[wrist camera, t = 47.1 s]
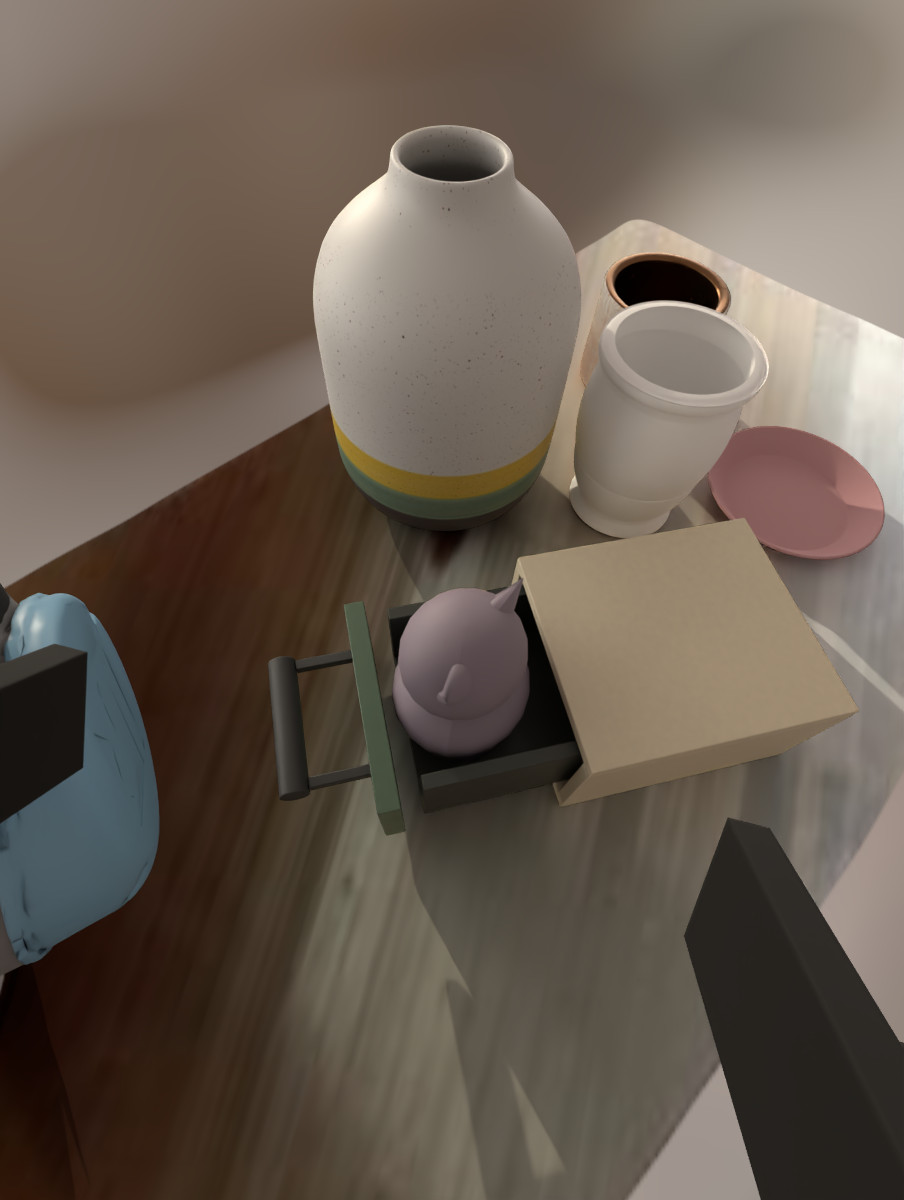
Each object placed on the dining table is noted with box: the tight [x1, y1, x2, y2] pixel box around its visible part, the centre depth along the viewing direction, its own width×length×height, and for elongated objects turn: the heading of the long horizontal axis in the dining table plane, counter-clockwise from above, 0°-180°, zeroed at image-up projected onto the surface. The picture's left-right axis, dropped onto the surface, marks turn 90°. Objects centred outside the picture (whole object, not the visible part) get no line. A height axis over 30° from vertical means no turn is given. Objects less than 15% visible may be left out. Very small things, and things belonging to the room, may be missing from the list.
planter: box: [580, 252, 731, 387], centre depth 54 cm, size 11×11×10 cm
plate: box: [708, 426, 885, 560], centre depth 50 cm, size 14×14×2 cm
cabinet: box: [512, 518, 859, 807], centre depth 38 cm, size 16×14×9 cm
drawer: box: [268, 584, 584, 836], centre depth 36 cm, size 20×12×7 cm, turn 103°
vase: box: [313, 125, 581, 531], centre depth 41 cm, size 17×17×24 cm
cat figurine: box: [392, 578, 530, 762], centre depth 33 cm, size 9×8×12 cm
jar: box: [569, 301, 769, 538], centre depth 44 cm, size 11×10×15 cm
